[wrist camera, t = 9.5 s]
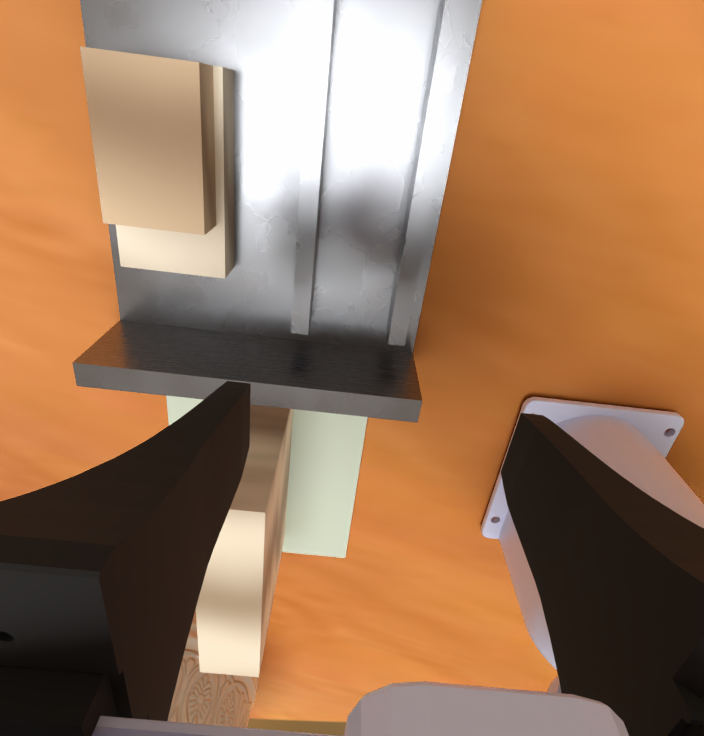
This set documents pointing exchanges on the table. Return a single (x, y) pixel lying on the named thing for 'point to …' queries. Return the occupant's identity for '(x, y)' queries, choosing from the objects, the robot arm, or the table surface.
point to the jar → (210, 692)
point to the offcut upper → (152, 139)
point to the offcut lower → (216, 246)
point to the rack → (300, 201)
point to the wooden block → (247, 553)
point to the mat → (314, 477)
